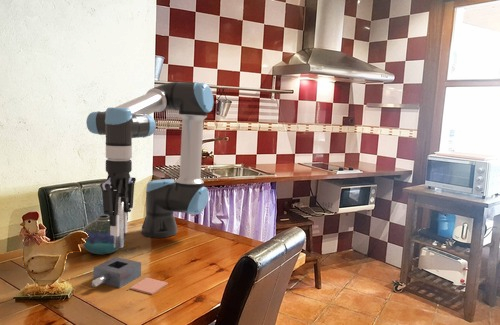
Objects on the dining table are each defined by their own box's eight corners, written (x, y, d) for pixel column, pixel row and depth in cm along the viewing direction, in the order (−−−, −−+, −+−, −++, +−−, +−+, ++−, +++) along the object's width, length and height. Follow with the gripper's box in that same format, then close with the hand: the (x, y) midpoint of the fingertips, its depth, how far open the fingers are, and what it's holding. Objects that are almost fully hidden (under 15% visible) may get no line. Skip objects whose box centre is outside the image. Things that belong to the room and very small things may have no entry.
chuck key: (130, 246, 123) (130, 196, 121) (123, 249, 120) (123, 198, 118) (113, 243, 125) (113, 194, 123) (107, 246, 123) (106, 196, 120)
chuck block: (116, 269, 130) (116, 256, 130) (140, 275, 127) (141, 262, 126) (81, 287, 116) (81, 273, 116) (107, 294, 113) (107, 280, 112)
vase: (99, 242, 155) (99, 209, 154) (133, 247, 151) (133, 214, 149) (71, 255, 141) (71, 219, 139) (108, 261, 136) (108, 224, 135)
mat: (146, 278, 124) (146, 277, 124) (168, 284, 122) (168, 282, 121) (130, 288, 117) (130, 287, 117) (152, 294, 114) (152, 293, 114)
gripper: (126, 155, 128) (126, 225, 131) (89, 160, 113) (90, 239, 116) (145, 157, 125) (144, 228, 128) (109, 163, 110) (110, 243, 113)
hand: (118, 233), depth 122 cm, fingers closed on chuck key, 3 cm apart
